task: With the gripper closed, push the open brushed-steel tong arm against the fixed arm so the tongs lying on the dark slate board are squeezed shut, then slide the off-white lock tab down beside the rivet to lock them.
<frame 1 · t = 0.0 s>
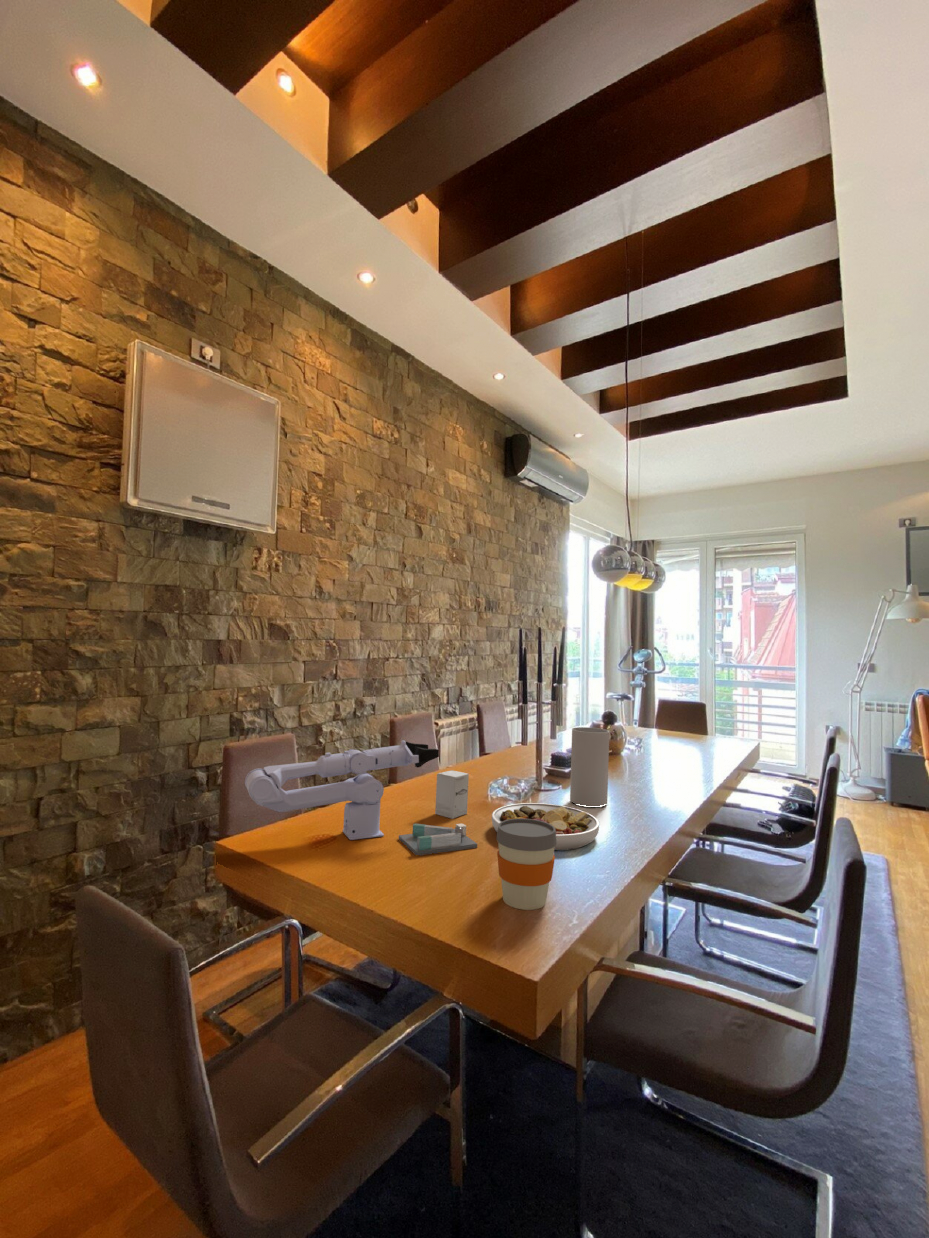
hand: (433, 750, 167), 22 cm above the table, tool horizontal, fingers open, 7 cm apart
cylinder vase: (588, 803, 197), on the table
slate board: (437, 843, 152), on the table
supplement box: (451, 814, 179), on the table
reusable coffee cup: (524, 900, 120), on the table
bowl: (544, 836, 163), on the table
tongs fixed: (458, 845, 151), resting on slate board
tong arm: (432, 831, 153), point 3 cm above the table, hinge at 38.0°
lock tab: (460, 829, 157), point 3 cm above the table, slide at 0.0 cm
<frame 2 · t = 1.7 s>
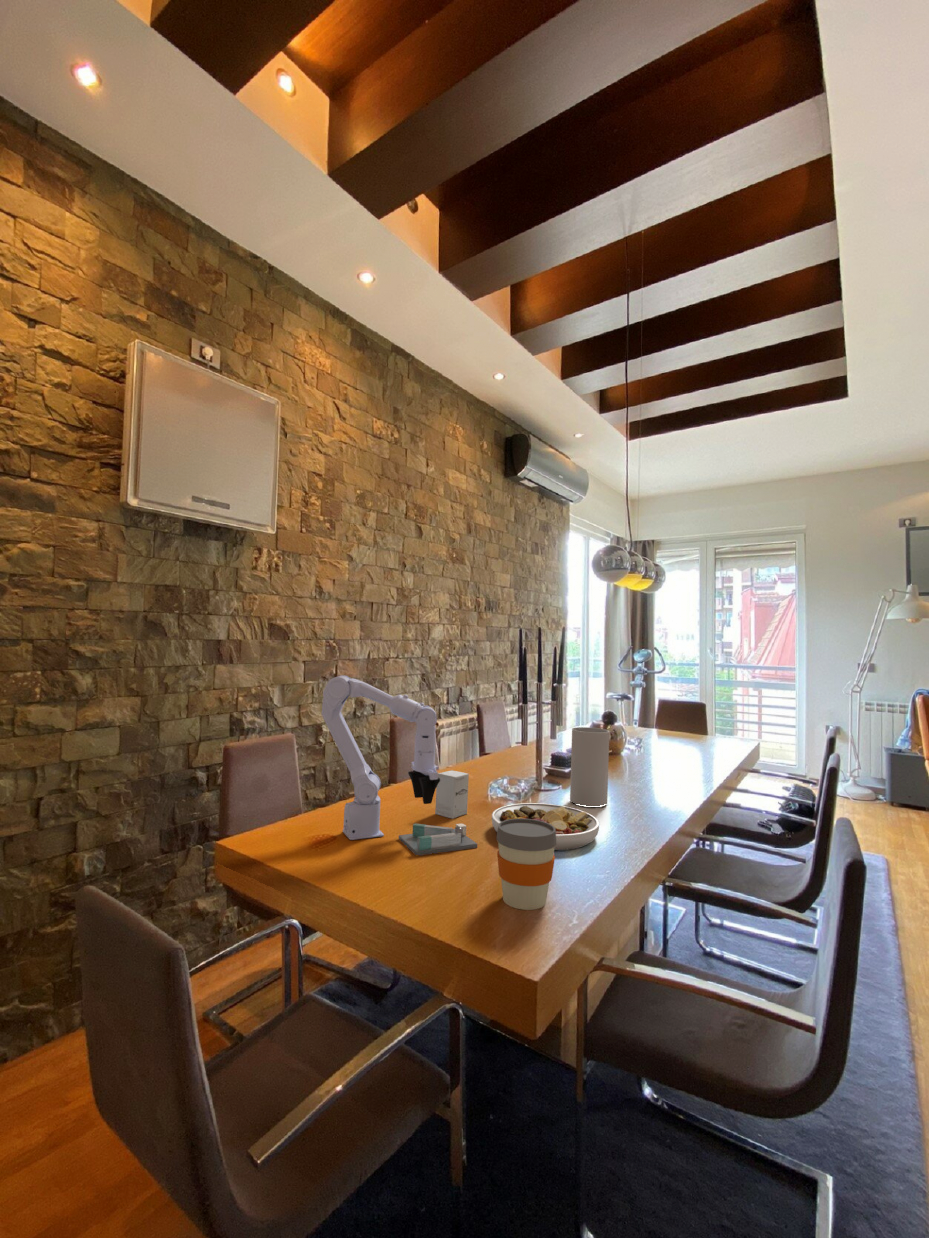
hand: (422, 800, 159), 9 cm above the table, tool pointing down, fingers open, 6 cm apart
nothing on the table moved.
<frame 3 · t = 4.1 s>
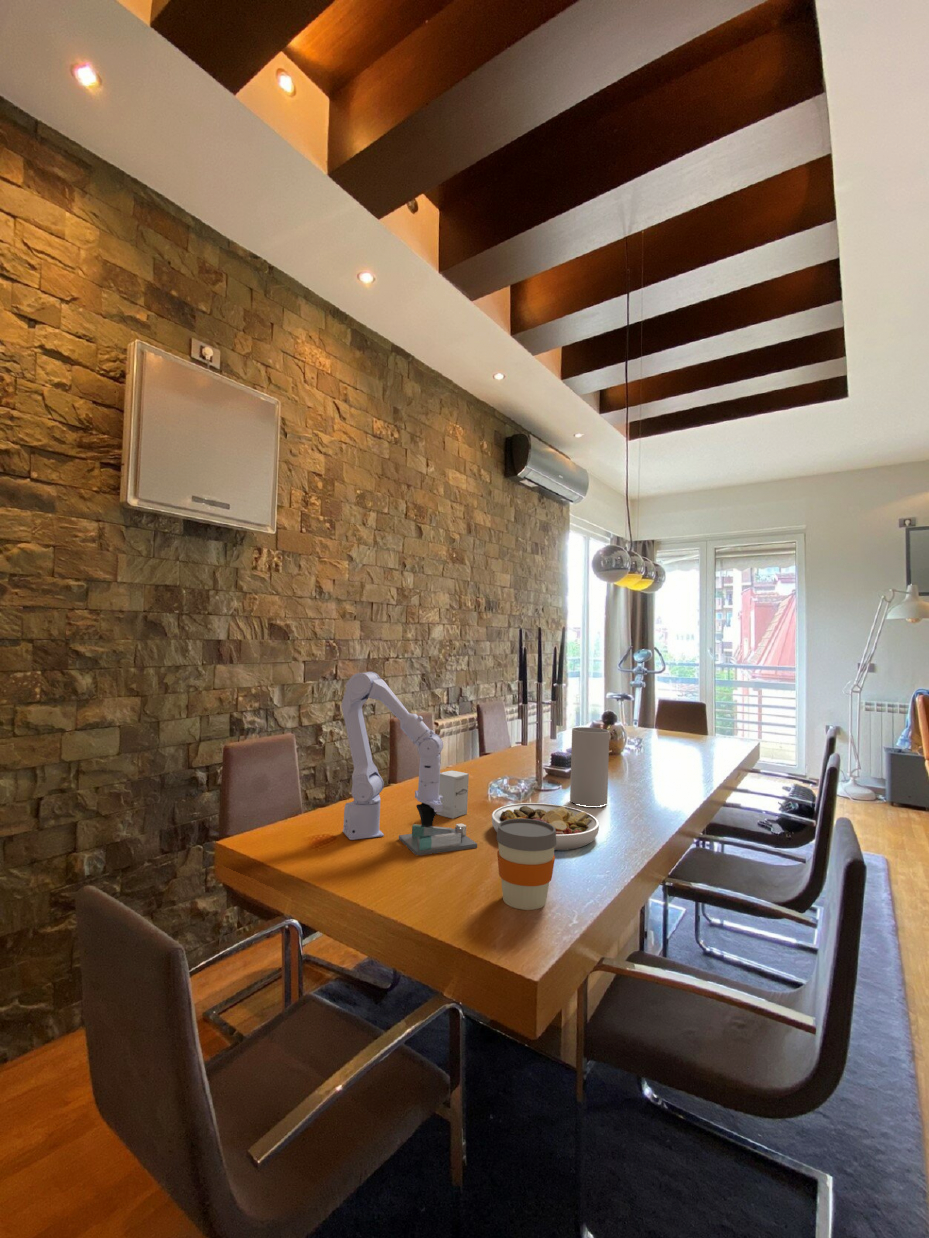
hand: (426, 831, 155), 2 cm above the table, tool pointing down, fingers closed, pressing on tong arm
tong arm: (432, 832, 153), point 3 cm above the table, hinge at 34.5°, touching gripper
everything else where it was.
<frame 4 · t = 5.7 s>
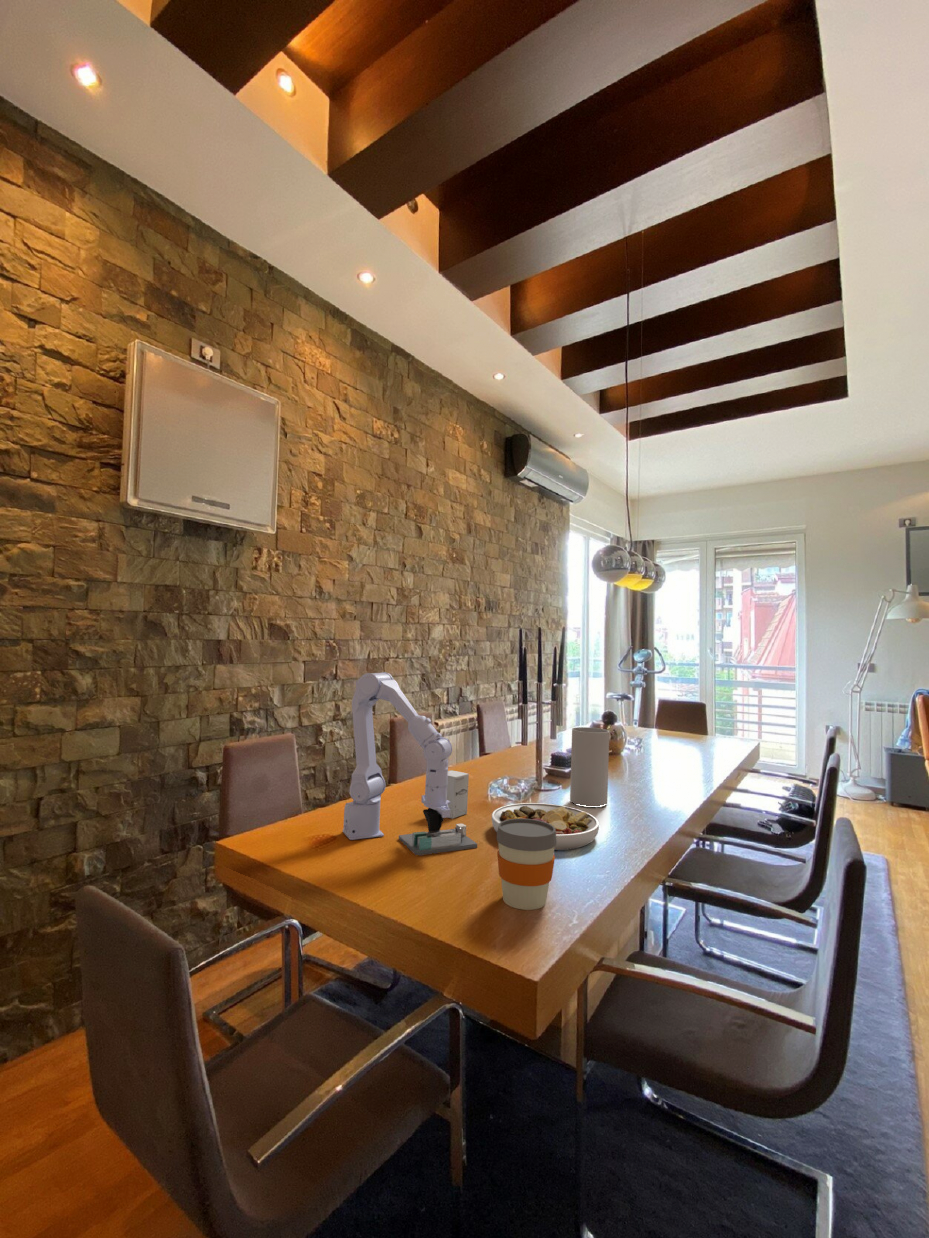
hand: (433, 837, 151), 2 cm above the table, tool pointing down, fingers closed
tong arm: (432, 837, 149), point 3 cm above the table, hinge at 2.7°, touching gripper
everything else where it was.
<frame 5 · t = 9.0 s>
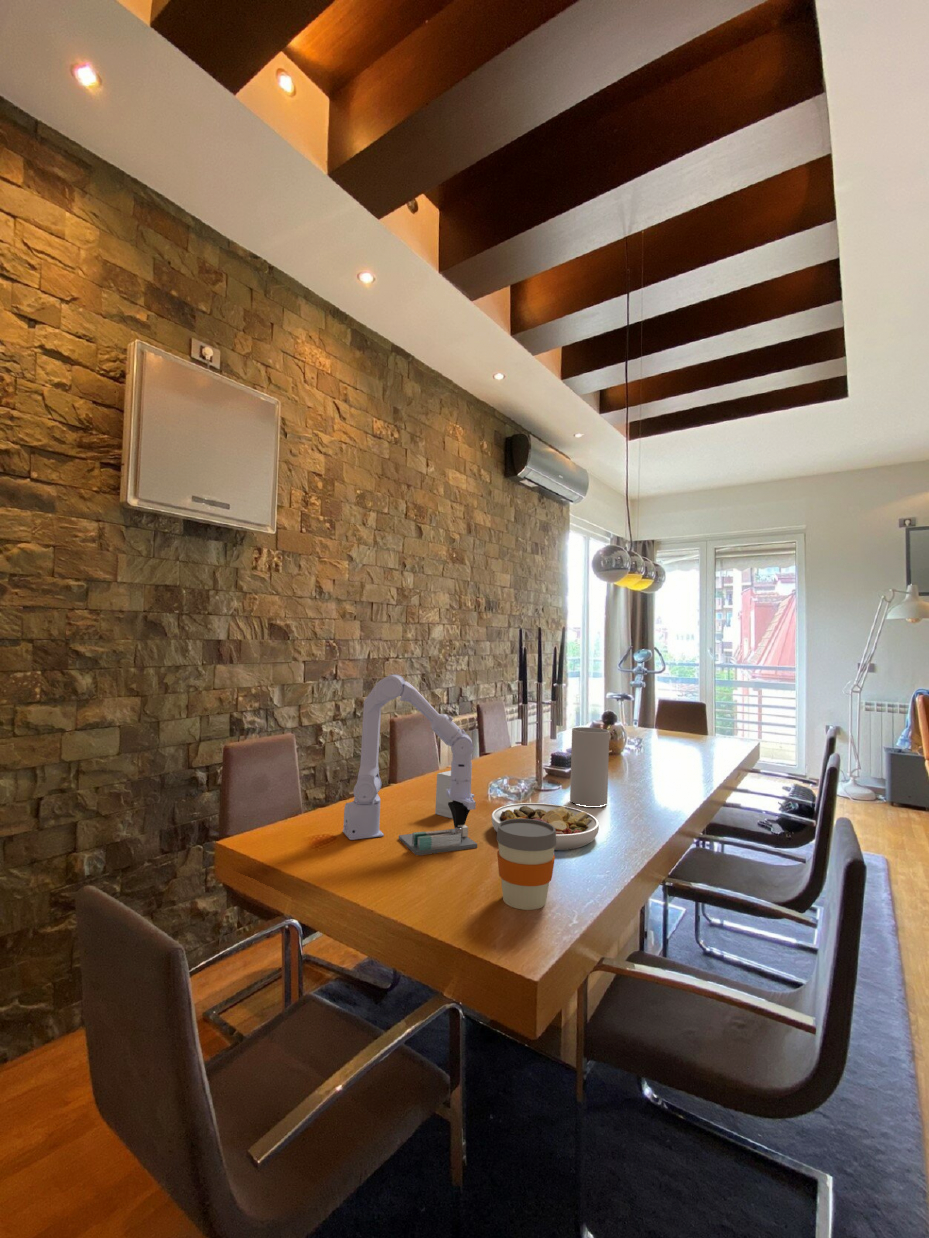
hand: (459, 829, 158), 2 cm above the table, tool pointing down, fingers closed
tong arm: (432, 837, 149), point 3 cm above the table, hinge at 2.5°
lock tab: (462, 830, 156), point 2 cm above the table, slide at 1.1 cm, touching gripper
everything else where it was.
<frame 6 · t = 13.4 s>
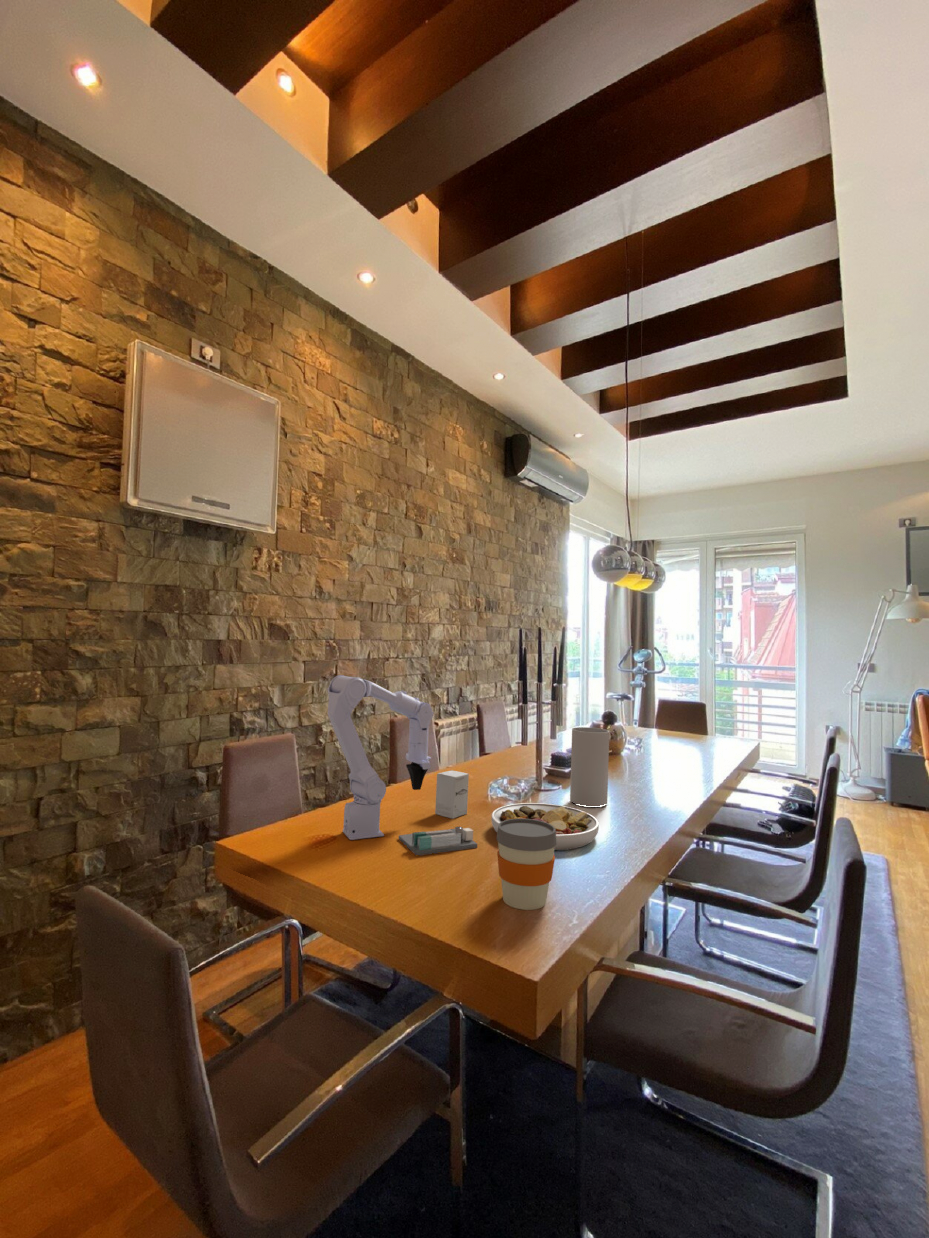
hand: (416, 789, 169), 10 cm above the table, tool pointing down, fingers closed
lock tab: (467, 834, 153), point 2 cm above the table, slide at 4.1 cm
everything else where it was.
at the end: tong arm at +2° (first picture: +38°); lock tab slide at 4.1 cm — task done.
